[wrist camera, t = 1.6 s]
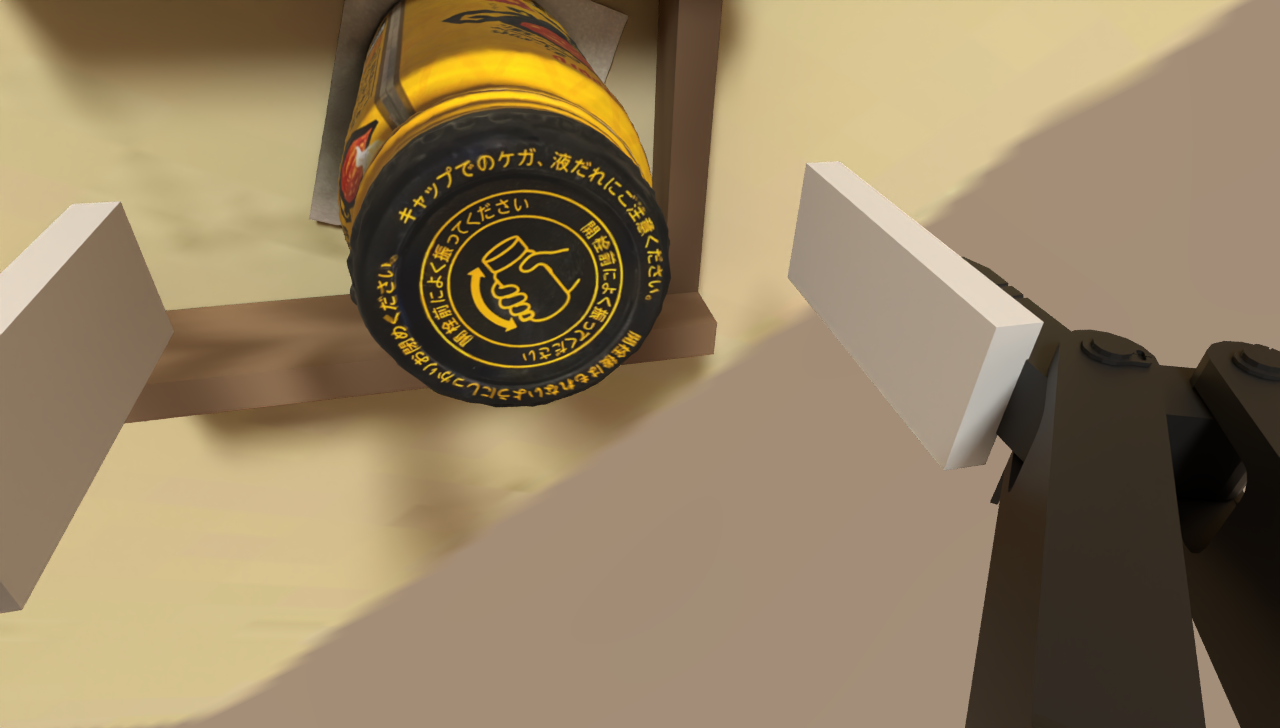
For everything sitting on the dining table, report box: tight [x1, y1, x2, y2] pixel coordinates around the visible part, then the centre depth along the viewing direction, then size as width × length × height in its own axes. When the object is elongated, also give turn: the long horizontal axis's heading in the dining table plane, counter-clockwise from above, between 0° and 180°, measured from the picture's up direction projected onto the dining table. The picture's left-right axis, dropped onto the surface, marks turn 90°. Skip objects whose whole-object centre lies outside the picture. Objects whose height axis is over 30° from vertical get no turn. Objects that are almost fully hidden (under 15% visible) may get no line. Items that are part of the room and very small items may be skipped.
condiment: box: [309, 0, 671, 407], centre depth 17 cm, size 7×8×12 cm
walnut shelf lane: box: [124, 0, 722, 423], centre depth 19 cm, size 18×13×4 cm
